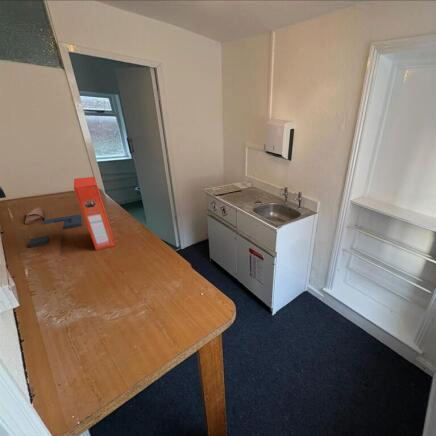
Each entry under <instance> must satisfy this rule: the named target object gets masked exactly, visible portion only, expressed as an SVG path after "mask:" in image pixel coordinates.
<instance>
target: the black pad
mask: <svg viewBox="0 0 436 436" xmlns="http://www.w3.org/2000/svg"><path fill="white" fill-rule="evenodd" d="M49 243H50V236H48V235H44V236H38V237H34V238H30V239H29V242H28V246H29V247H30V249H31V248H37V247H41V246H47V245H49Z"/></svg>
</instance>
